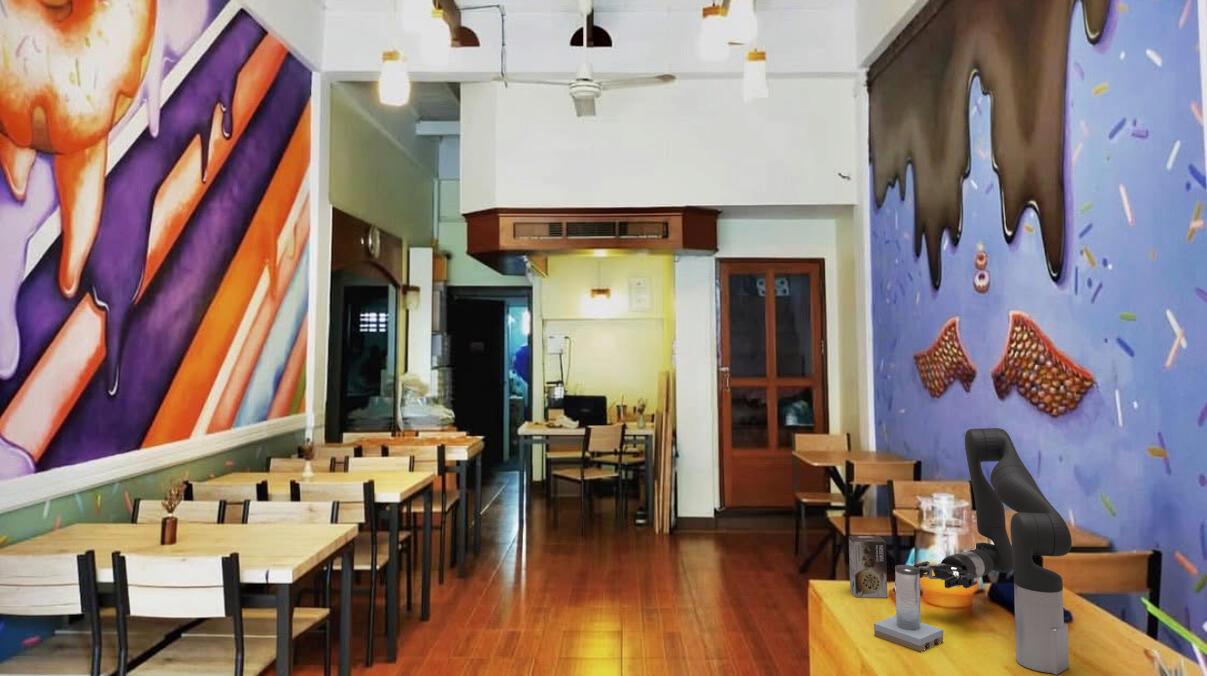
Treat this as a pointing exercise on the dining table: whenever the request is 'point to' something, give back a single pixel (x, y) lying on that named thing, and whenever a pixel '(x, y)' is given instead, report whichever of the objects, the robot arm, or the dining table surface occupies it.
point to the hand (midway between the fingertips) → (929, 579)
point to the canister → (908, 597)
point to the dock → (908, 634)
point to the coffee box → (868, 566)
